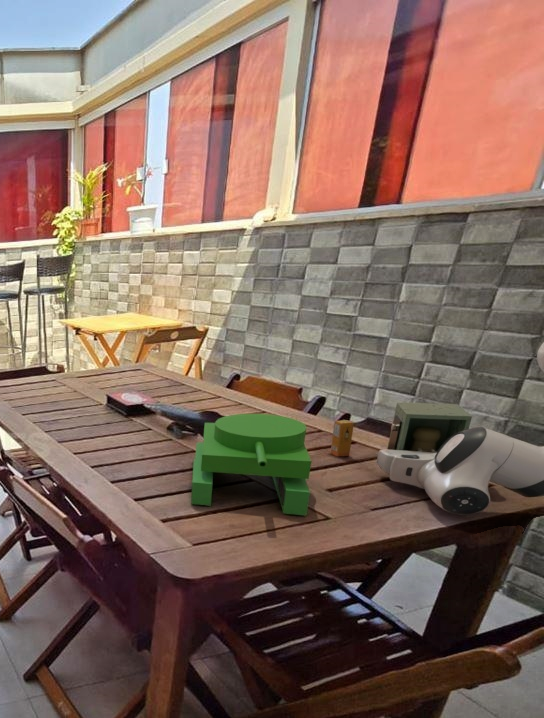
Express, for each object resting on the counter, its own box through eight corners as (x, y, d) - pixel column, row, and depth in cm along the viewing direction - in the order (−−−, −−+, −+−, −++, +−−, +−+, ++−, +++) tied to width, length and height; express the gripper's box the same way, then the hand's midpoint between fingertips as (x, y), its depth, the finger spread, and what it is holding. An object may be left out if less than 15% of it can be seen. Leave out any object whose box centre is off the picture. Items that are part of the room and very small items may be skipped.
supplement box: (341, 452, 142) (347, 419, 138) (349, 456, 138) (355, 422, 135) (329, 452, 142) (334, 420, 139) (336, 457, 139) (342, 423, 136)
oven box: (443, 461, 129) (457, 403, 124) (456, 477, 121) (472, 416, 116) (380, 457, 136) (391, 402, 131) (388, 471, 127) (400, 413, 122)
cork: (433, 465, 128) (443, 425, 124) (435, 473, 124) (446, 432, 120) (402, 461, 132) (411, 423, 128) (403, 469, 127) (412, 430, 124)
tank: (187, 514, 118) (191, 452, 113) (193, 461, 147) (196, 409, 141) (310, 528, 107) (321, 460, 101) (291, 468, 135) (299, 412, 130)
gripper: (509, 464, 107) (485, 443, 118) (387, 456, 117) (375, 437, 128) (501, 490, 109) (479, 467, 120) (382, 479, 120) (371, 459, 131)
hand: (424, 451), depth 124 cm, fingers closed, pressing on cork
